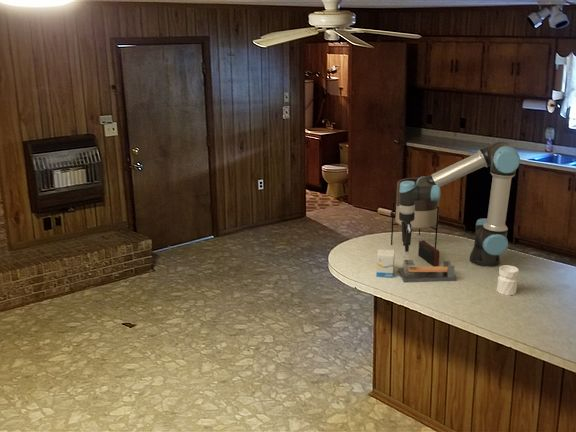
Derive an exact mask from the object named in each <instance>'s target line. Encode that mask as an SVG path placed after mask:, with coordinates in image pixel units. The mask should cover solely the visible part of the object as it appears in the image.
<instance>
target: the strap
mask: <svg viewBox="0 0 576 432" xmlns="http://www.w3.org/2000/svg"><path fill="white" fill-rule="evenodd" d="M408 270H409V272H447V266H446V267H443V266H437V267H433V266H429V265H428V266H421V265H420V266H416V265H415V267H408Z"/></svg>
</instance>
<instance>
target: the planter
mask: <svg viewBox="0 0 576 432" xmlns="http://www.w3.org/2000/svg"><path fill="white" fill-rule="evenodd" d="M419 178H420V177H406V178H402V179H399V180H398V181H397V183H396V204H395V202H392V213H391V215H392V216H391V235H390V245H391V246H392V245H393V241H394V239H393V238H394V237H393V236H394V234H393V233H394V226H399V225H400V226H401V227H402V224H401V222H403V221H401V220H399V213H400V211H399V208H398V206H400V205H399V192H400V191H399V190H400V183H401V182H403V181H413V182H415V185H416V182H417V180H418V179H419ZM394 209H395V210H394ZM439 209H440V199H439V200H435V201H415V212H414V213H415V219H414V220H413V221H411V222H410V224H411V229H417V230H418V229H419V230H418V236H421V229H422V230H423V229H432V230H435V235H434V237H435V239H434V248H436V249H437V243H438V240H437V239H438V227H439V225H438V224H439V212H440V210H439ZM394 213H395V214H394ZM394 215H395V219H394ZM394 220H395V222H396V223H394Z"/></svg>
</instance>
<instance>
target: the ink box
mask: <svg viewBox="0 0 576 432" xmlns="http://www.w3.org/2000/svg"><path fill="white" fill-rule="evenodd" d="M395 252H396V251H395V250H393V249H380V248H379V249H378V250H377V254H376V256H377V257H376V275H375V276H376V277H377V278H391V279H393V278H394V271H395V269H394V268H395V258H396V257H395V254H396V253H395Z"/></svg>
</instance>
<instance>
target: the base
mask: <svg viewBox="0 0 576 432" xmlns="http://www.w3.org/2000/svg"><path fill="white" fill-rule="evenodd" d="M451 263H452V262H451V260H447V259H446V260H443V263H442V264H443V265H442V267H446V266H447V272H414V275H404V273H403V267H401V268H400V267H398V269H397V273H398V275H399V276H400V278H401V280H402V282H403V283H429V282H431V283H432V282H456V281H457V278H458V277H457V275H456V273H455V267H456V266H455V265H451Z"/></svg>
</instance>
